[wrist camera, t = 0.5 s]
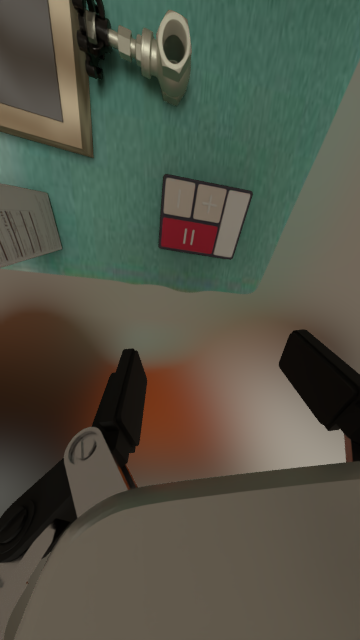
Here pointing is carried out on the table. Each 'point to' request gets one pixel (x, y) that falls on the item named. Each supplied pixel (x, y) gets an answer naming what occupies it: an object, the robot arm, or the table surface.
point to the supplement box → (25, 225)
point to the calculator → (201, 216)
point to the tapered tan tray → (44, 75)
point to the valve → (138, 47)
